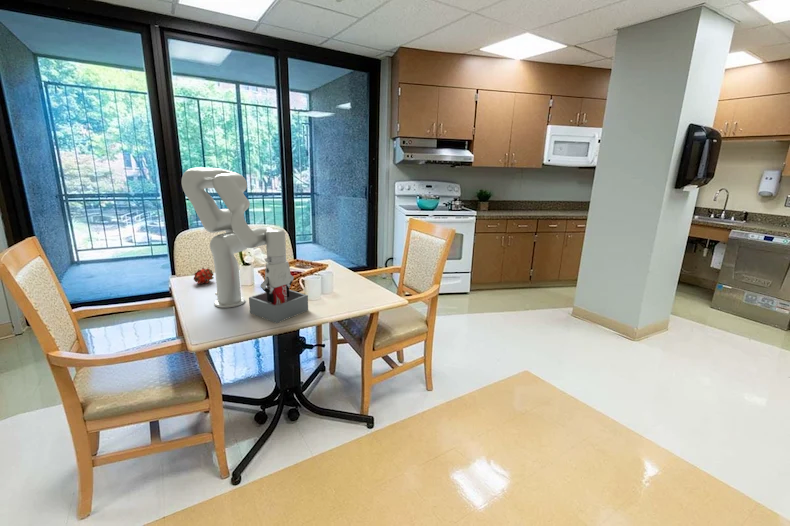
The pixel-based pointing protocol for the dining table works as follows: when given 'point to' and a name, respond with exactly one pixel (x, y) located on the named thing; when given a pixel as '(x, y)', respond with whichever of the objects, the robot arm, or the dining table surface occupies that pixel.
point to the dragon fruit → (203, 276)
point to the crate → (278, 306)
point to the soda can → (279, 295)
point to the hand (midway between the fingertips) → (278, 298)
